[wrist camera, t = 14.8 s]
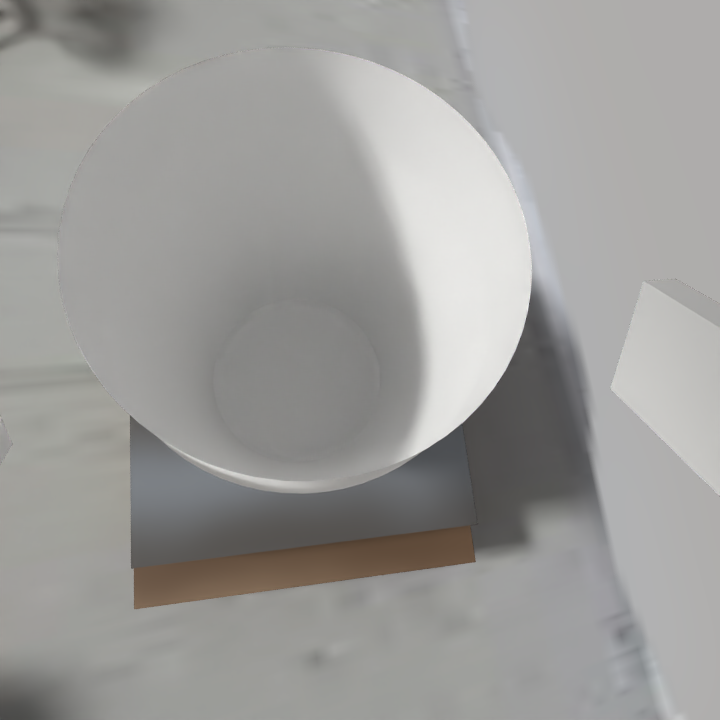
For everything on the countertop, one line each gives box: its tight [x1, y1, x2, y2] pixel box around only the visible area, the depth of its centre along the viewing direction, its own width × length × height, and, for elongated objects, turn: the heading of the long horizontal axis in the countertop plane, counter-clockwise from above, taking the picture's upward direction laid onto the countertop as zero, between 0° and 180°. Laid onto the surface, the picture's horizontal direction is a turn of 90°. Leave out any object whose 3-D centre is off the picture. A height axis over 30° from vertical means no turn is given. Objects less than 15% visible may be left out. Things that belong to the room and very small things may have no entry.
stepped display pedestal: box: [130, 415, 478, 609], centre depth 25 cm, size 17×15×8 cm
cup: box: [57, 47, 532, 494], centre depth 15 cm, size 9×9×12 cm
